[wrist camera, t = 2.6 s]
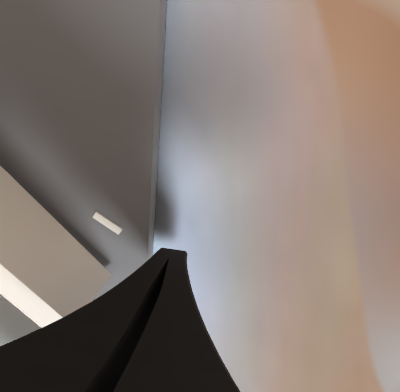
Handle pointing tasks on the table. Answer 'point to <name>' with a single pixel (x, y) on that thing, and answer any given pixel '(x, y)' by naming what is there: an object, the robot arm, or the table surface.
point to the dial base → (86, 118)
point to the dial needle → (42, 259)
